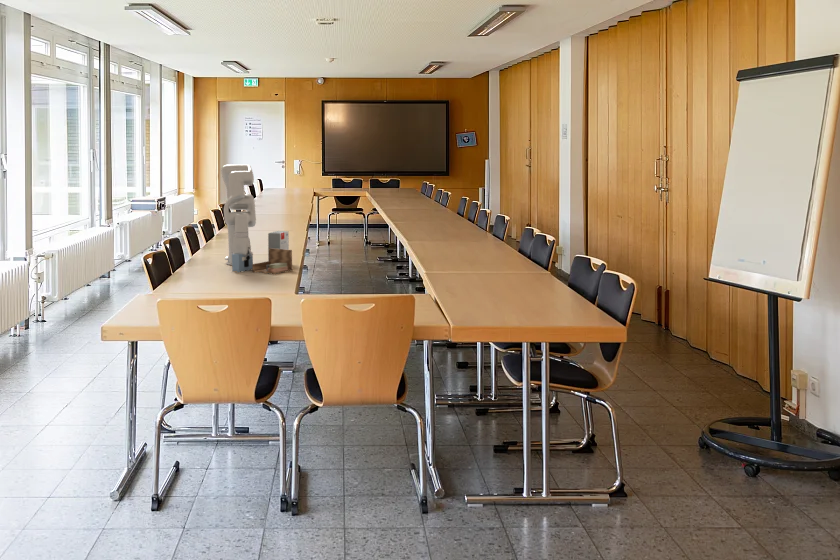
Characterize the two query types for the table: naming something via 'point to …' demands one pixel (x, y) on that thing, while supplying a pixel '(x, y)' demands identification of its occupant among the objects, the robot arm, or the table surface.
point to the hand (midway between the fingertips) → (242, 266)
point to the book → (240, 262)
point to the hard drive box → (278, 240)
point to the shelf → (275, 262)
